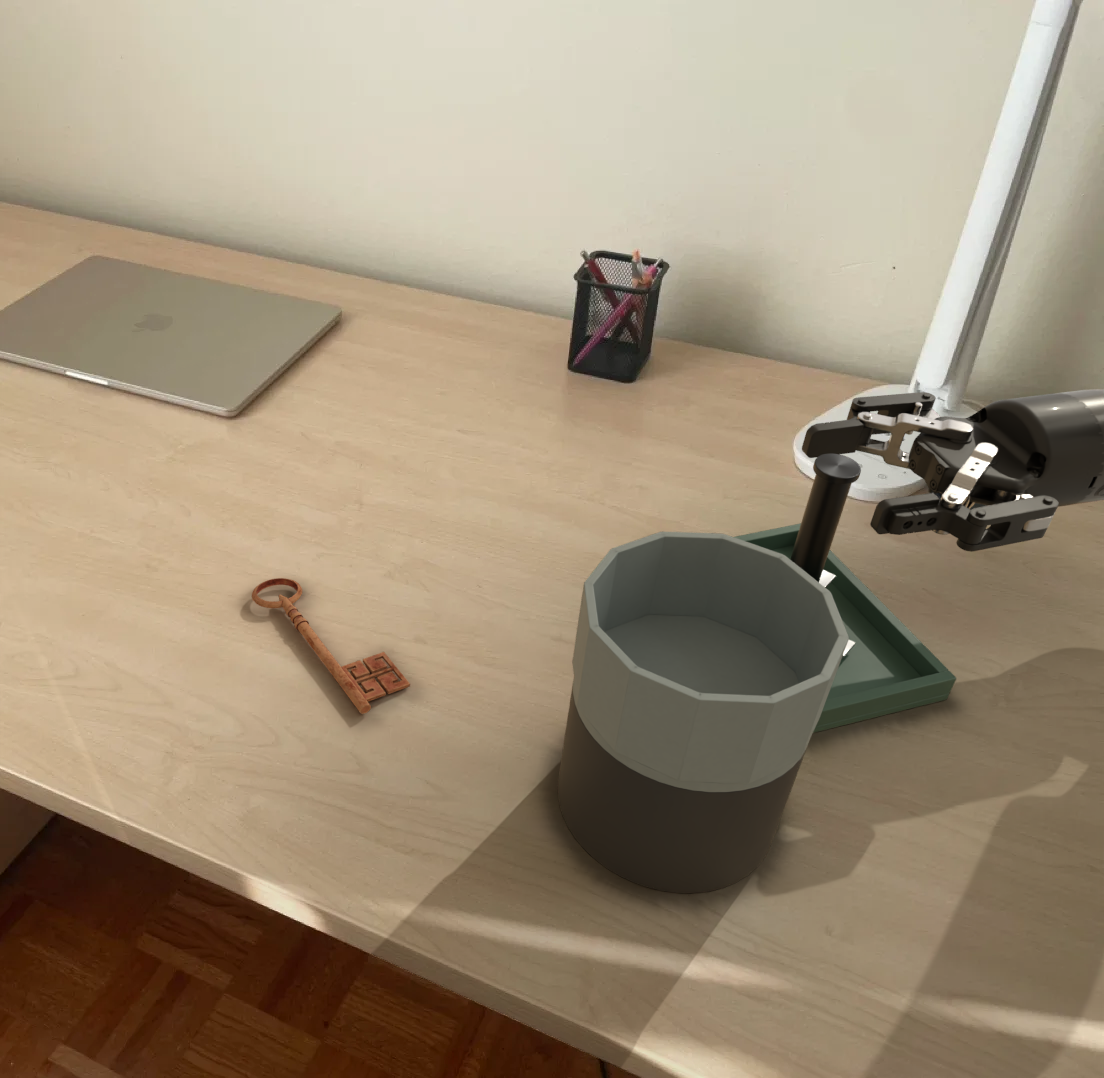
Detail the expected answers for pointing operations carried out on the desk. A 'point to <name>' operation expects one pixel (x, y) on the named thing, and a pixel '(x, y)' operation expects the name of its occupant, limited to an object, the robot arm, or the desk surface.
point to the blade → (824, 516)
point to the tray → (868, 648)
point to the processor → (692, 705)
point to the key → (329, 661)
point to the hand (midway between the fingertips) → (840, 478)
